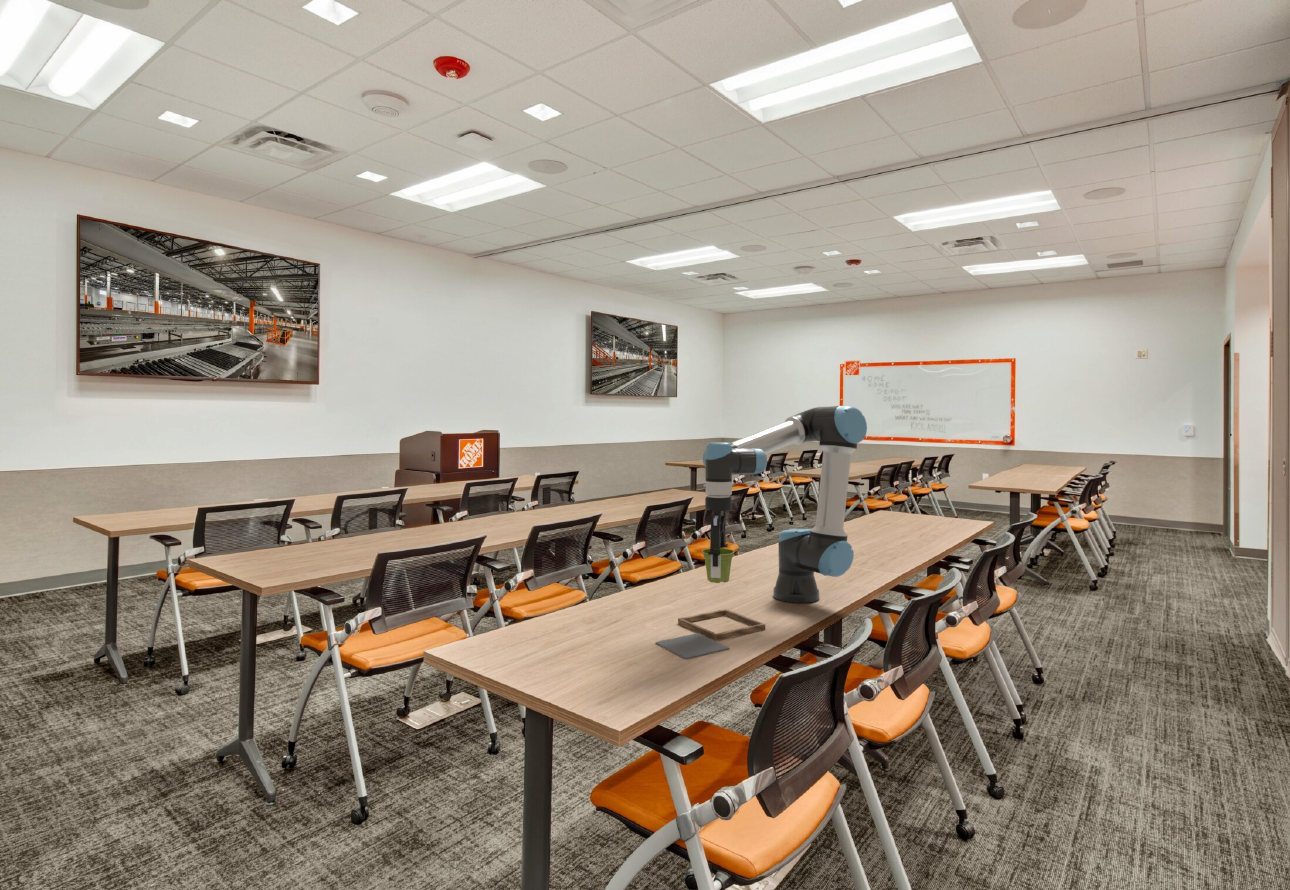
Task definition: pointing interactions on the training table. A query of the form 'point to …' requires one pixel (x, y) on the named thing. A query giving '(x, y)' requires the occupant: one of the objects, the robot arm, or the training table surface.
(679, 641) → the mat
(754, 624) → the tray frame
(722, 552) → the plant pot
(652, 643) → the training table surface
